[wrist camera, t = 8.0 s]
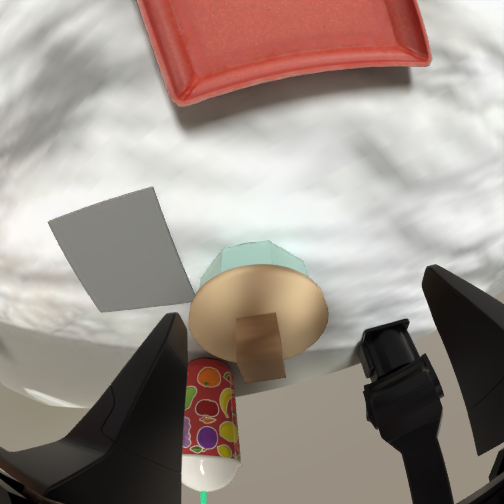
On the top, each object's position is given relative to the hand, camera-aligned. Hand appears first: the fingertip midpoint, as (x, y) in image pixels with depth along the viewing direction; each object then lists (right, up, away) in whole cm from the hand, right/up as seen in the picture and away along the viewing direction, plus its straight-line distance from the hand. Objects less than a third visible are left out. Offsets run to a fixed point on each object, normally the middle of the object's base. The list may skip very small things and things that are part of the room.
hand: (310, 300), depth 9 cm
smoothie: (-8, -14, +25) cm, 30 cm away
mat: (-14, +1, +15) cm, 20 cm away
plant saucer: (-1, +21, +2) cm, 21 cm away
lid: (-1, -4, +13) cm, 13 cm away
